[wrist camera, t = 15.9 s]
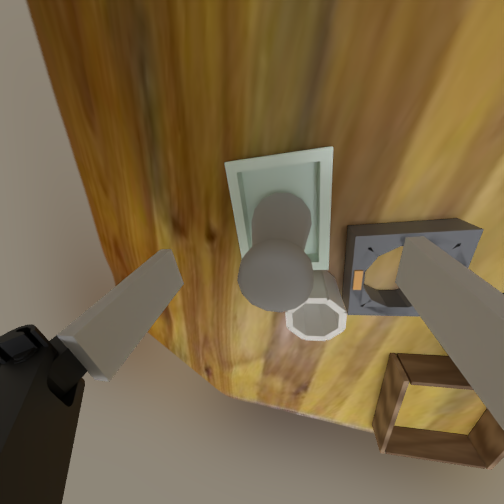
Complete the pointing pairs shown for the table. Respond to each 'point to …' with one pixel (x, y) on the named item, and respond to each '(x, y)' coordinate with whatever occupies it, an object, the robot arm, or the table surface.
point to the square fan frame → (386, 239)
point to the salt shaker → (278, 255)
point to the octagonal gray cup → (319, 311)
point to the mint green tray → (285, 181)
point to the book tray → (425, 441)
